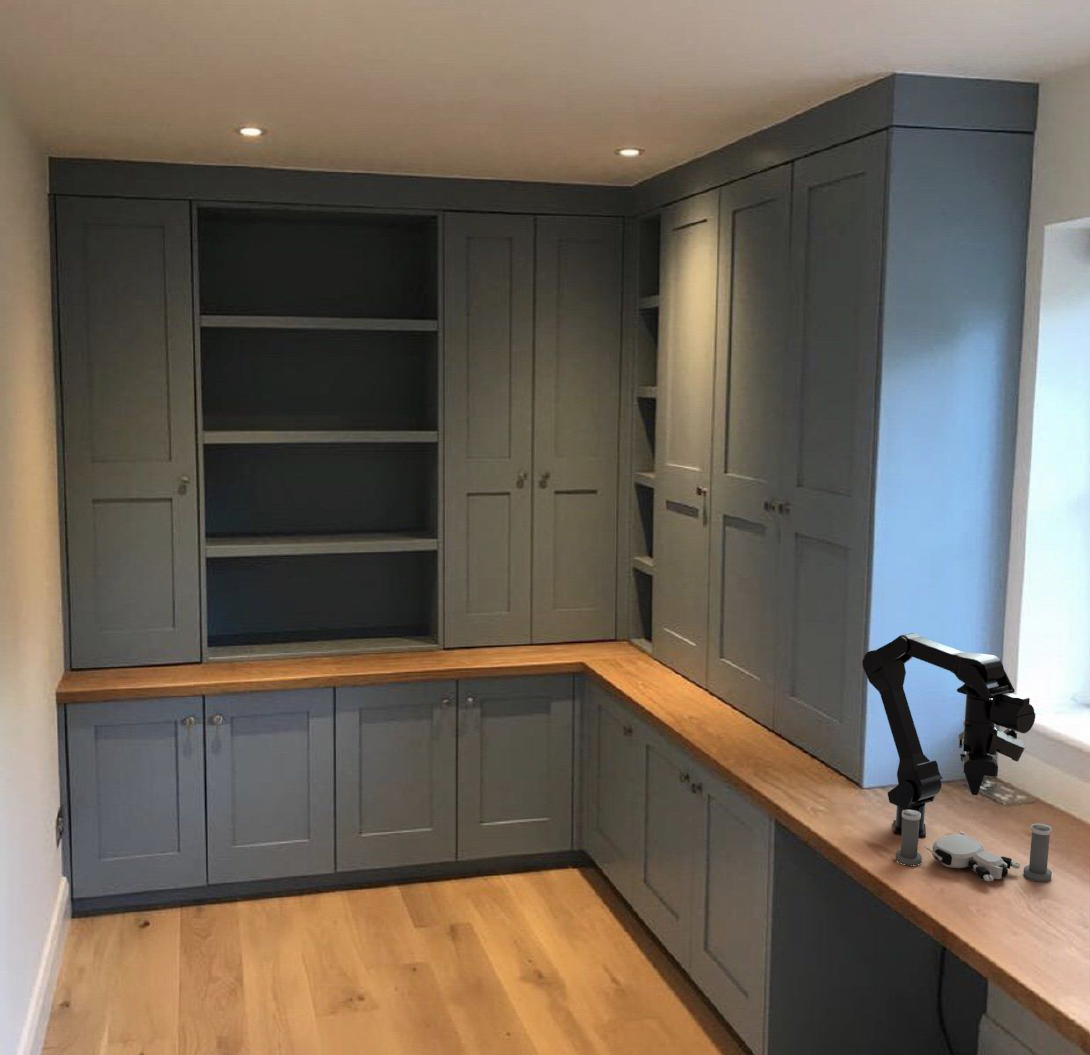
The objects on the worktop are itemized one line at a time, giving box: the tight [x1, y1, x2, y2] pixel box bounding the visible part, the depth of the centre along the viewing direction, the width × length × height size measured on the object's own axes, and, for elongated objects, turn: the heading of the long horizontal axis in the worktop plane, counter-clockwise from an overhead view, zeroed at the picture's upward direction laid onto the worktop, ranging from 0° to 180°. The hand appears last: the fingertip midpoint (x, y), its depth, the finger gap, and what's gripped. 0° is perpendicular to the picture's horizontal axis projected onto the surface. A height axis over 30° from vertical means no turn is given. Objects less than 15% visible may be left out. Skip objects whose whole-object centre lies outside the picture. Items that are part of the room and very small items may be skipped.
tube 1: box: [894, 810, 923, 867], centre depth 245 cm, size 5×5×10 cm
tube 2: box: [1023, 823, 1052, 883], centre depth 239 cm, size 5×5×10 cm
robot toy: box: [924, 830, 1021, 882], centre depth 242 cm, size 12×4×15 cm
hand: (974, 794), depth 246 cm, fingers closed
